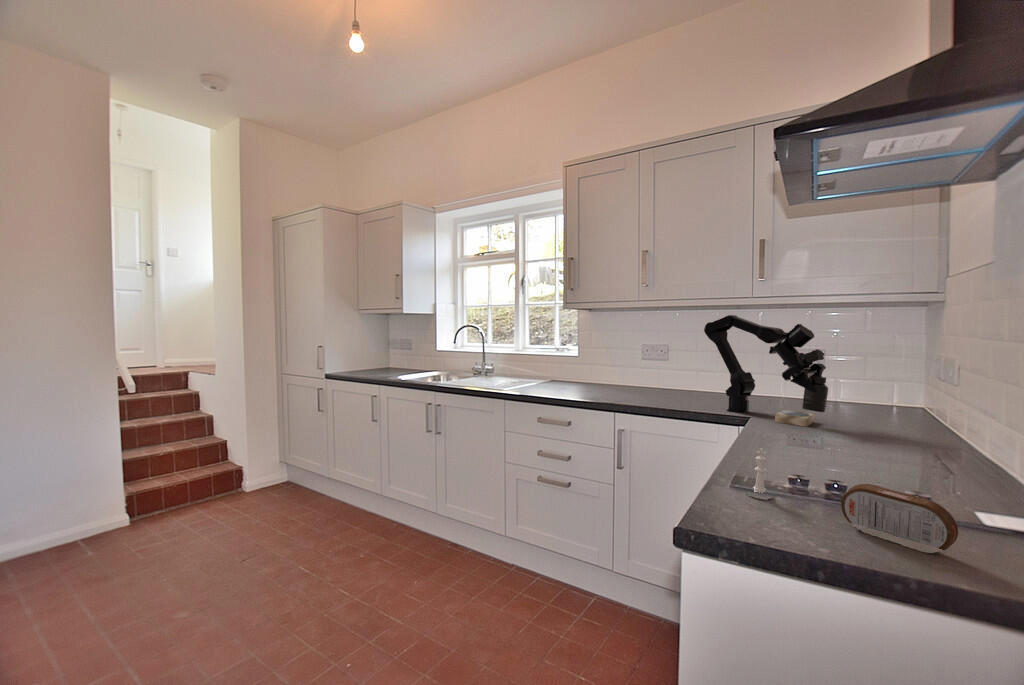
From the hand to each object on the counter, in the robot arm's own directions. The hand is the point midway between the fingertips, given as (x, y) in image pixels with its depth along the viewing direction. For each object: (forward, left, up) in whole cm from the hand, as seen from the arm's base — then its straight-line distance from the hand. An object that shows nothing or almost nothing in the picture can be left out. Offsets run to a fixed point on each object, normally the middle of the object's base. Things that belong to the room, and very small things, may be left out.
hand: (820, 391), depth 157 cm
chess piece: (+5, -83, -13) cm, 84 cm away
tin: (+27, -88, -13) cm, 93 cm away
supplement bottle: (-2, -1, -7) cm, 7 cm away
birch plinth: (-8, +3, -13) cm, 15 cm away
